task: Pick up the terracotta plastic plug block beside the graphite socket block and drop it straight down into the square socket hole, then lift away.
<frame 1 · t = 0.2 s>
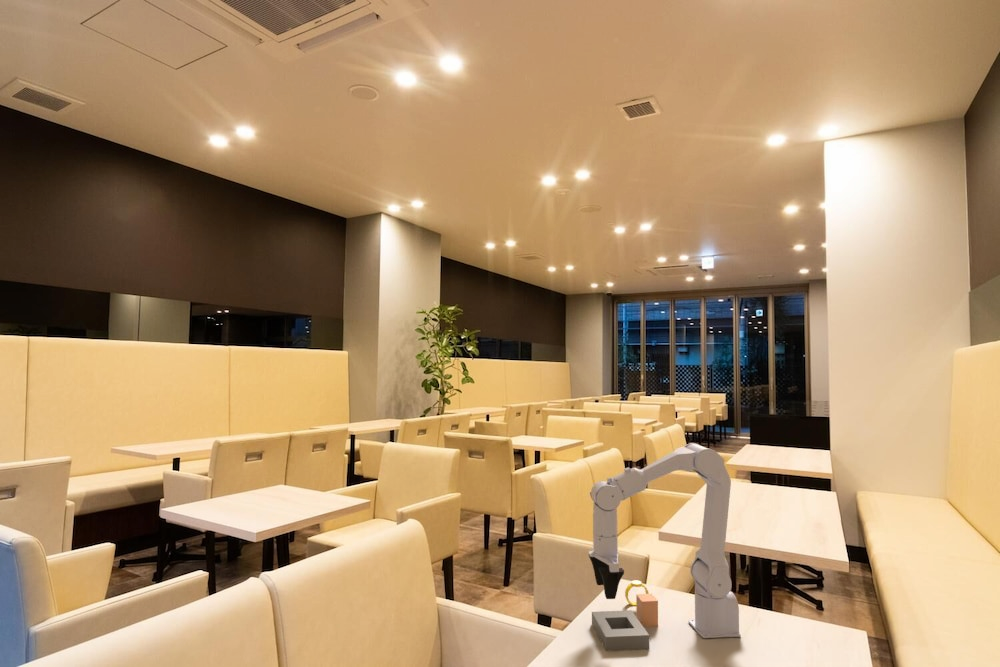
hand: (605, 591, 129), 10 cm above the table, tool pointing down, fingers open, 7 cm apart
plug: (647, 622, 134), on the table
socket block: (619, 635, 127), on the table
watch: (636, 605, 143), on the table
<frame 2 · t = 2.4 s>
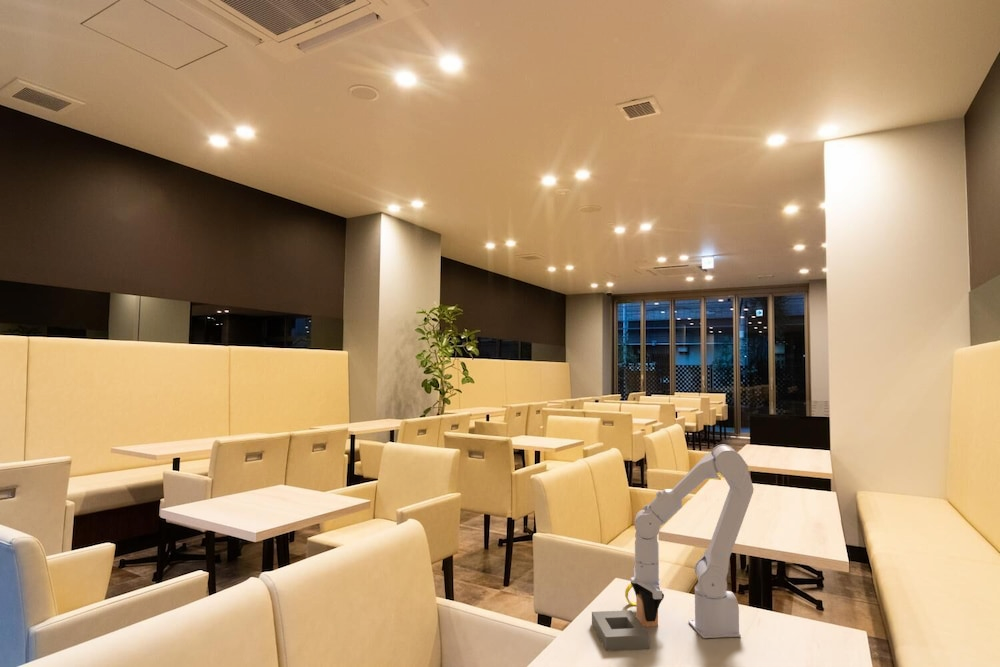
hand: (647, 616, 134), 1 cm above the table, tool pointing down, fingers closed on plug, 4 cm apart
plug: (647, 622, 134), on the table, touching gripper
everything else where it was.
when the fingers open (3 cm above the table, at t = 6.2 s): plug drops 2 cm, resting in socket block.
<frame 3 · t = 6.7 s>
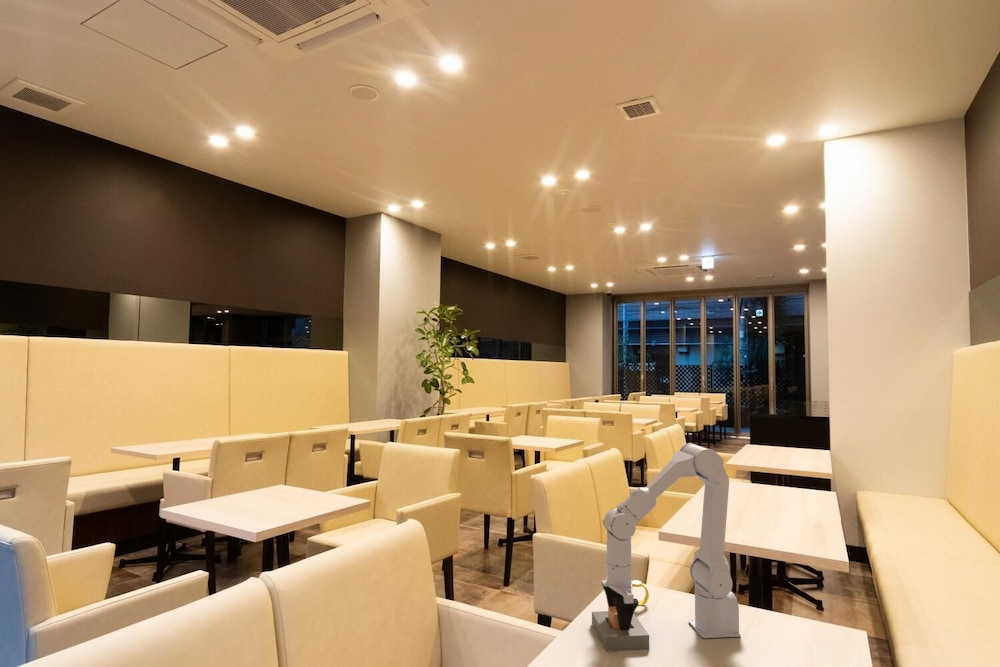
hand: (619, 621, 127), 3 cm above the table, tool pointing down, fingers open, 7 cm apart
plug: (619, 636, 127), resting in socket block
everything else where it was.
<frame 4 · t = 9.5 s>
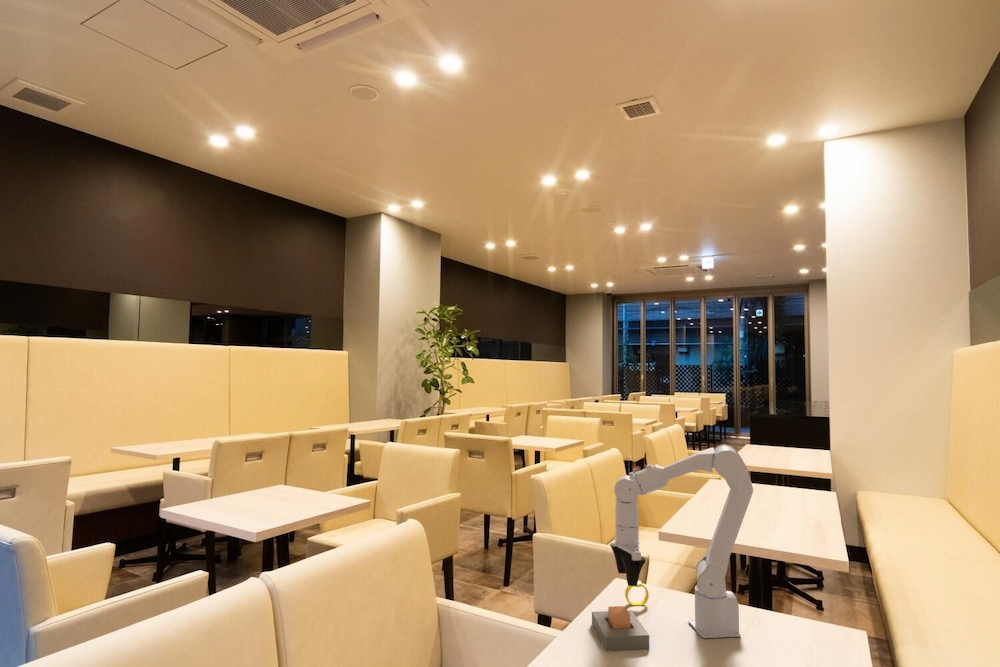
hand: (627, 578, 137), 9 cm above the table, tool pointing down, fingers open, 7 cm apart
nothing on the table moved.
at the end: plug 0.1 cm off-centre on the socket block, point 0.0 cm above the socket block's base; plug tilted 0°; the gripper is holding nothing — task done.
